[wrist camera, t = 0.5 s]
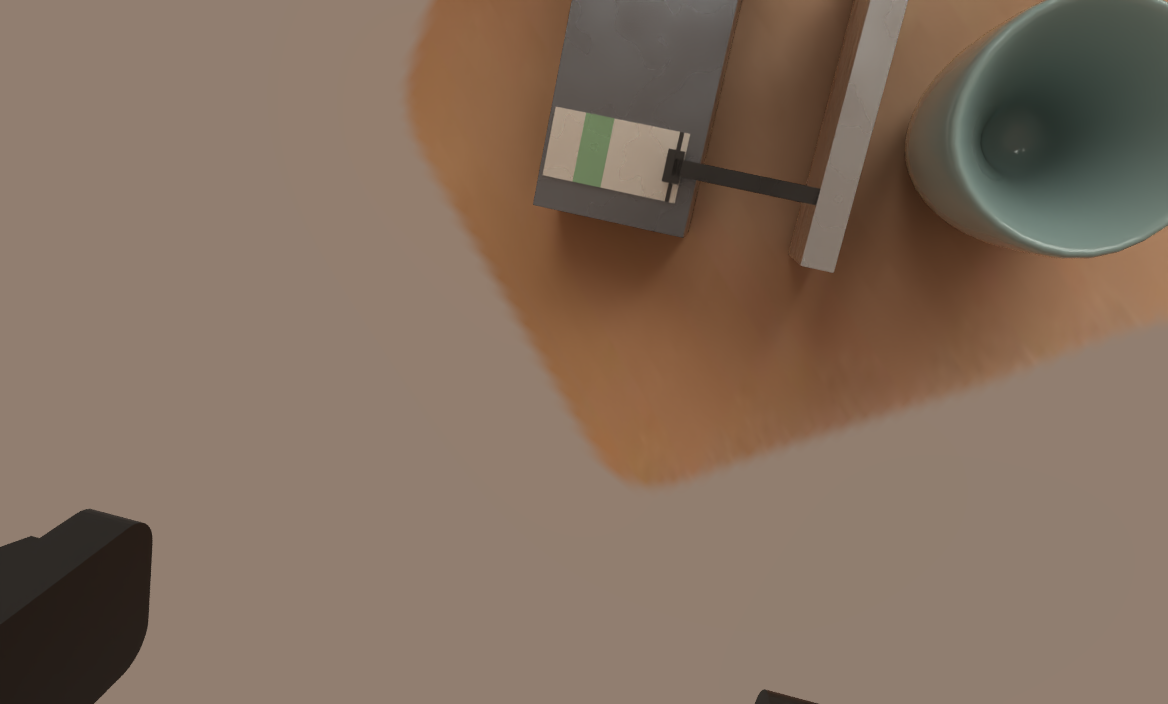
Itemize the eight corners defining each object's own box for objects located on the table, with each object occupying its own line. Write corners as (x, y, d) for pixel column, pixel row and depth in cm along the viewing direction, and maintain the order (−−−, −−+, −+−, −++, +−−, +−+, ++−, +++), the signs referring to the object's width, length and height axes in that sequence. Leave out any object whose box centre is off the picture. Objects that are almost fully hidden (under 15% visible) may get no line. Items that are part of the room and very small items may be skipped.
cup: (848, 162, 35) (895, 151, 26) (980, 4, 33) (1086, -74, 24) (992, 277, 35) (1095, 310, 26) (1133, 125, 33) (1303, 97, 24)
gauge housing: (613, -82, 35) (594, -129, 30) (755, -57, 34) (760, -100, 29) (557, 203, 38) (531, 204, 32) (688, 231, 37) (682, 237, 32)
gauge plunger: (726, -64, 34) (727, -117, 28) (894, -35, 33) (930, -83, 28) (661, 226, 37) (649, 232, 31) (815, 260, 36) (833, 272, 30)
